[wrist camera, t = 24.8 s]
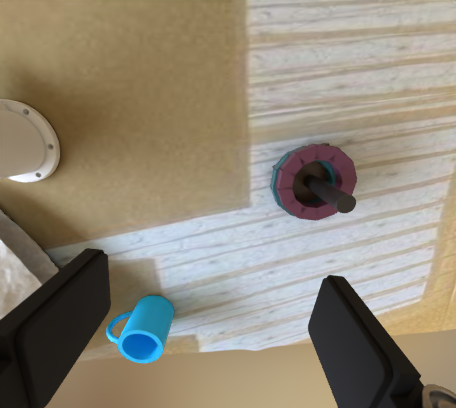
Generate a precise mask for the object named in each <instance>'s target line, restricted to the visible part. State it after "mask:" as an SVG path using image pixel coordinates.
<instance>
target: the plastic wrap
mask: <svg viewBox="0 0 456 408" xmlns="http://www.w3.org/2000/svg"><path fill="white" fill-rule="evenodd" d="M9 216H10V215H9ZM8 218H9V217H8V216H7V217H6V215H4V213H3V212H2V211H1V210H0V320H1V319H2V318H3V317H4V316H6V315H7V314H8V313H9V312H10V311H12V310H13V309H14V308H15V307H16V306H18V305H19V304H20V303H21V302H22V301H24V300H25V299H26V298H27V297H28V296H30V295H31V294H32V293H33V292H35V291H36V290H37V289H38V288H39V287H41V286H42V285H43V284H44V283H45V282H47V281H48V280H49V279H50V278H51V277H53V276H54V275H55V274H56V273H57V272H59V270H58V269H59V268H57V267H55V265H54V264H55V263H52V262H51V260H50V259H49V257H48V256H47V255H48V254H45V253H44V251H42V250H41V248H40V246H39V247H38V245H37V244H36V243H37V242H35V241H34V240H33V239H32V238H30V236H28V234H26V232H25V231H24V230H23V229H21V228H20V227H19V225H17V224H16V223H14V222H12V221H11V220H10V219H8Z"/></svg>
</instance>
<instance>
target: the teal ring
mask: <svg viewBox="0 0 456 408" xmlns="http://www.w3.org/2000/svg"><path fill="white" fill-rule="evenodd" d="M303 147H306V146H302V147H300V148H297V149H295V150H293V151H290V152H288V153H287V154H285V155H284V156H283V158H282V159H281V160H280V161H279V162H278V164H277V165H276V166H275V167H274V168H275V169H273V174H272V179H271V184H270V187H271V190H272V193H273V195H274V198H275V201H276V202H277V204H278V205H279V206H280V207H281V208H282V209H284V210H285V211H286V212H288V213H289V214H290V215H292V216H295V215H293V214H292V213H291V212H290V211H288V210H287V209H286V208H285V207H284V206H283V205H282V203H281V201H280V199H279V196H278V193H277V190H276V181H277V176H278V172H279V168H280V166H281V165H282V164H283V163H284V162H285V160H286V159H287V158H288V157H289V156H290V155H291V153H292V152H293V153H294V151H296V150H298V149H301V148H303ZM314 162H318V163H320V164H321V165H322V166H323V167H324V168H325V171H326V175H327V183H329V184H331V185H333V186H334V185H335V182H336V176H335V172H334V168H333V167H332V166H331V165H330V164H329V163H328V162H327V161H322V160H316V161H314ZM322 200H323V199H321V198H320V197H319V196H318V197H317V198H316V199H313V200H310V201H308V202H301V203H308V204H314V203H317V202H320V201H322Z"/></svg>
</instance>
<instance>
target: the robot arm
mask: <svg viewBox="0 0 456 408" xmlns="http://www.w3.org/2000/svg"><path fill="white" fill-rule="evenodd" d="M59 159H60V146H59V141H58V139H57V136H56V133H55V132H54V130H53V128H52V126H51V125H50V124H49V122H48V121H47V120H46V119H45V118H44V117H43V116H42V115H41V114H40V113H39V112H38V111H36V110H35V109H33V108H32V107H30V106H28V105H26V104H24V103H21V102H18V101H14V100H7V99H0V179H3V178H9V179H12V180H15V181H19V182H27V183H28V182H36V181H40V180H43V179H45V178H47V177H49V176H50V175H51V174H52V173H53V172H54V171H55V170H56V168H57V166H58V163H59ZM110 306H111V300H110V285H109V269H108V256H107V254H104V251H103V250H99V249H90V248H87V249H85V250H84V251H83V252H82V253H80V254H79V255H78V256H77V257H76V258H74V259H73V260H72V261H71V262H69V263H68V264H67V265H66V266H65V267H63V268H62V269H61V270H60V271H59V272H57V273H56V274H55V275H54V276H53V277H51V278H50V279H49V280H48V281H47V282H45V283H44V284H43V285H42V286H41V287H39V288H38V289H37V290H36V291H35V292H33V293H32V294H31V295H30V296H28V297H27V298H26V299H25V300H24V301H22V302H21V303H20V304H19V305H18V306H16V307H15V308H14V309H13V310H12V311H10V312H9V313H8V314H7V315H6V316H4V317H3V318H2V319H1V320H0V408H44V407H45V406H46V405H47V404H48V403H49V401H50V400H51V398H52V397H53V395H54V394H55V392H56V391H57V389H58V388H59V386H60V385H61V383H62V382H63V380H64V379H65V377H66V376H67V374H68V373H69V371H70V370H71V368H72V367H73V365H74V364H75V362H76V361H77V359H78V358H79V356H80V355H81V353H82V352H83V350H84V349H85V347H86V346H87V344H88V343H89V341H90V340H91V338H92V336H93V335H94V333H95V332H96V330H97V329H98V327H99V326H100V324H101V323H102V321H103V320H104V318H105V317H106V315H107V314H108V312H109V310H110ZM308 331H309V335H310V337H311V340H312V342H313V344H314V347H315V350H316V352H317V355H318V357H319V360H320V362H321V365H322V368H323V370H324V372H325V375H326V378H327V380H328V383H329V385H330V388H331V390H332V393H333V396H334V398H335V401H336V403H337V405H338V408H456V394H455V393H453V392H452V391H450V390H448V389H446V388H444V387H441V386H438V385H433V384H430V385H429V384H428V385H426V386H424V385H423V384H422V383H421V381H420V380H419V379H420V377H421V375H420V374H419V372H418V371H417V370H416V369H415V367H414V366H413V365H412V363H411V362H410V361H409V360H408V358H407V357H406V356H405V354H404V353H403V352H402V351H401V349H400V348H399V347H398V346H397V344H396V343H395V342H394V340H393V339H392V338H391V337H390V335H389V334H388V333H387V331H386V330H385V329H384V328H383V326H382V325H381V324H380V322H379V321H378V320H377V319H376V317H375V316H374V315H373V314H372V312H371V311H370V310H369V308H368V307H367V306H366V305H365V303H364V302H363V301H362V299H361V298H360V297H359V296H358V294H357V293H356V292H355V290H354V289H353V288H352V287H351V285H350V284H349V283H348V282H347V280H346V279H345V278H344V277H342V276H333V275H329V276H328V277H327V278H324V279H323V281H322V284H321V287H320V290H319V293H318V297H317V300H316V303H315V306H314V309H313V312H312V315H311V318H310V321H309V324H308Z"/></svg>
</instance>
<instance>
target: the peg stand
mask: <svg viewBox="0 0 456 408" xmlns="http://www.w3.org/2000/svg"><path fill="white" fill-rule="evenodd" d="M321 145H324V146H329V143H324V144H321ZM275 166H276V165H274V166H273V169H275V168H274V167H275ZM292 189H293V192H294V195H295V198H296V199H297V200H298V201H300V202H308V201H310V200H313V199H316V198H317V197H318V196H319V197H320V198H321V199H323V200H324V201H325V202H327V203H328V204H329V205H331V206H332V207H333V208H335V209H336V210H337V211H339V212H341V213H348V212H350V211H352V210H353V209H354V207H355V205H356V200H355V198H354V197H353V196H351V195H349V194H348V193H346V192H344V191H342V190H340V189H338V188H336V187H335V186H333V185H331V184H329V183H327V175H326V171H325V168H324V167H323V166H322V165H321V164H320V163H318V162H314V161H313V162H310V163H308V164H305V165H304V166H303V167H302V168H301V169H300V170H299V171H298V173H297V174H296V175H295V178H294V182H293V186H292Z"/></svg>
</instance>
